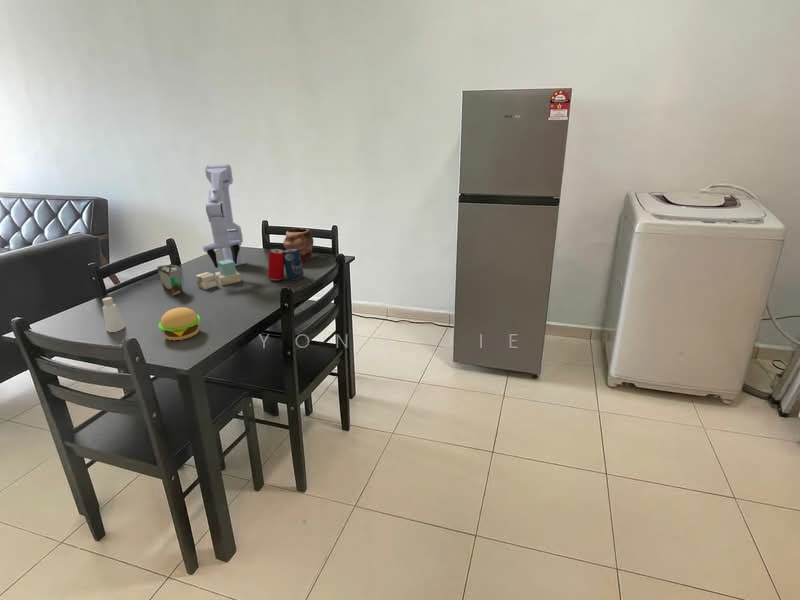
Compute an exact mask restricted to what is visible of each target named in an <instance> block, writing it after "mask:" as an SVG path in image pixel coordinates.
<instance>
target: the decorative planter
mask: <svg viewBox="0 0 800 600" xmlns="http://www.w3.org/2000/svg"><path fill="white" fill-rule="evenodd" d="M282 243H283V246H284V248H285V249H289V248H297V249H298V251H299V252H300V257H301V262H302V263H303V262H307V261H310V260H311V259H312V255H313V248H314V247H313V246H314V237H313V233H312V231H311V230H309V229H308V228H291V229H288V230H287V231H286V232H285V238H284V240H283V241H282Z"/></svg>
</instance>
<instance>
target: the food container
mask: <svg viewBox="0 0 800 600" xmlns="http://www.w3.org/2000/svg"><path fill="white" fill-rule="evenodd" d="M157 272H158V275H159V278H160V282H161V285H162V286H161V287H162V288H163V292H165V293H166V292H167V293H166V294H168V293H169V294H168V295H170V296H171V295H172V296H171V297H173V298H175V297H177V296H180V295H182V293H183V292H184V291H183V284H182V278H181V277H182V276H181V275H182V273H183V272H182V269H181V268H180V266H178V265H175V264H164V265H158V266H157Z"/></svg>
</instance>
